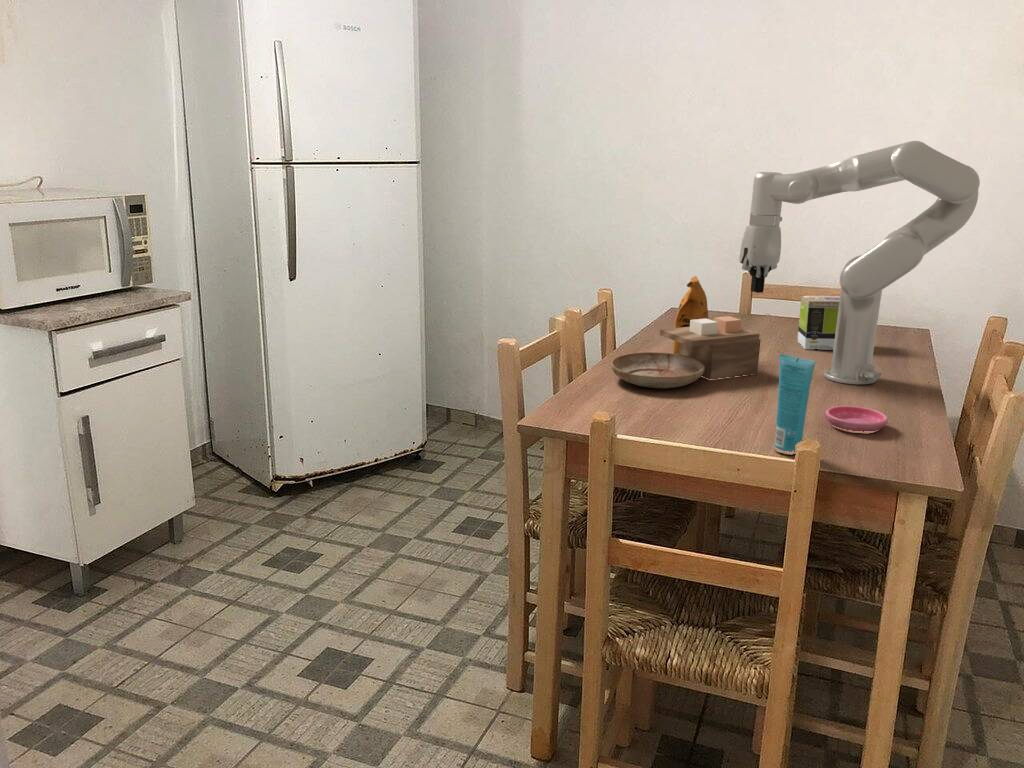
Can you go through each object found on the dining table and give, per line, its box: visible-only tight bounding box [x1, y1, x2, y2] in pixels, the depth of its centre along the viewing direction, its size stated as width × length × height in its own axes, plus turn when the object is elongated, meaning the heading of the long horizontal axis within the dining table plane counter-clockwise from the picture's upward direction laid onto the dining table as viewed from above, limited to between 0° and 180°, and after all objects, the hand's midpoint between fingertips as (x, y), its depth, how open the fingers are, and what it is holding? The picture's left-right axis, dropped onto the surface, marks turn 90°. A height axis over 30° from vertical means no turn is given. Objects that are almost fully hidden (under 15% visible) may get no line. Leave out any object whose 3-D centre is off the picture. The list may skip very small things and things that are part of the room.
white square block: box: [689, 318, 718, 335], centre depth 217 cm, size 5×5×3 cm
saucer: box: [824, 405, 889, 432], centre depth 180 cm, size 12×12×3 cm
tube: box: [774, 353, 817, 452], centre depth 163 cm, size 7×5×19 cm, turn 47°
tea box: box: [797, 295, 840, 351], centre depth 248 cm, size 15×10×15 cm
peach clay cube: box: [713, 315, 742, 333], centre depth 220 cm, size 5×5×3 cm
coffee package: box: [672, 275, 709, 354], centre depth 235 cm, size 10×12×22 cm
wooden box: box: [659, 327, 761, 379], centre depth 220 cm, size 14×22×11 cm, turn 114°
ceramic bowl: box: [610, 351, 705, 389], centre depth 212 cm, size 23×24×5 cm
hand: (756, 291), depth 222 cm, fingers closed
